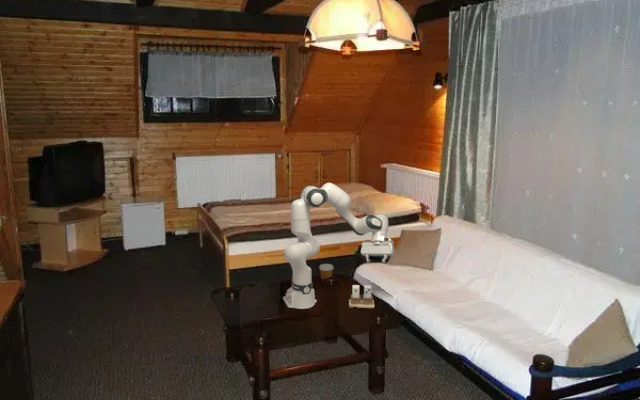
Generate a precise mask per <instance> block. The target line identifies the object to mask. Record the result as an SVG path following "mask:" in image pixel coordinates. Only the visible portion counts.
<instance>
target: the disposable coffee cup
mask: <svg viewBox="0 0 640 400" xmlns="http://www.w3.org/2000/svg"><path fill="white" fill-rule="evenodd" d="M318 267H319V273H320V280H321V279H324V278H329V277H333V270H334V269H335V268H334V265H333V264H332V263H322V264H319V266H318Z"/></svg>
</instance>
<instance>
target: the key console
mask: <svg viewBox="0 0 640 400" xmlns="http://www.w3.org/2000/svg"><path fill="white" fill-rule="evenodd" d="M361 296H362V297H361ZM353 307H357V308H358V309H359V308H363V309H364V308H365V309H366V308H367V309H374V308H375V302H374V297H373V294H371V298H364V294H362V295H361V294H359V298H352V293H351V294H350V299H348V308H353Z"/></svg>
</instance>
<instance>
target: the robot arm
mask: <svg viewBox="0 0 640 400" xmlns="http://www.w3.org/2000/svg"><path fill="white" fill-rule="evenodd" d="M326 202H327V203H328V204H329V205H331V206H332V207H333V208H334V209H335V211H336V213H337V214H338V215H339V216H340V218H341V219H342V220H343V221H345V223H346V224H347V225H349V227H350V228H351V229H352V231H353V233H354V234H356V235H357V236H360V237H361V236H364V235H366V234H367V233H372V235H371V239H370V240H364V241H362V243H361V248H360V254H361V255H362V256H363V257H366V262H367V263H370V262H371V259H370V256H371V257H383V258H382V259H381V263H382V264H384V263H386V260H387V259H388V257H393V256H394V255H395V246H394V244H395V243H394V241H393V239H392V238H390V237H388V236H387V234H388V232H389V219H388V217H387V216H386V215H384V214H376V215H374V214H368V215H365V216H363V217H361V218H359V217H358V218H357V217H356V216H355V215H354V214H353V213H352V212H351V211H350V210H349V207H350V205H351V197H350V195H348V193H347V192H345V191H344V190H343V189H342V188H340V187H339V186H338V185H336V184H334V183H332V182H326V183H325V184H323V185H322V186H321V187H319V188H318V187H317V186H314V185H307V186H304V187H303V188H302V190H301V192H300V194H299V197H298V199H295V200H293V201H292V202H291V204H290V205H291V206H290V230H291V233H292V234H293V235H295V236H296V238H297V242H294V243H292V244H290V245H288V246H287V247H285V248H284V250H283V257H284V259H285V261H286V262H287V263H289V265H290V266H291V269H292V277H293V282H292V281H291V287H289V288H288V289H287V290H286V293H285V296H283V297H282V300H283V301H284V303H285V305H286V306H287V308H292V309H297V310H298V309H299V310H300V309H301V310H304V309H311V308H312V307H313V306H315V304H316V303H317V302H318V301H317V299H316V298H315V297H316V295H315V289H314V288H313V281H312V280H313V279H312V275H313V274H312V273H313V271H312V268H311V267H310V266H308V265H307V260H308V259H311V258H313V257H315V256H316V255H317V254H319V252H320V248H321V246H320V243H319V242H318V240H317V239H315V238H314V236H313V234H312V231H311V220H310V219H311V217H310V210H311V208H319V207H320V206H322V205H323V204H325V203H326Z"/></svg>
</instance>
